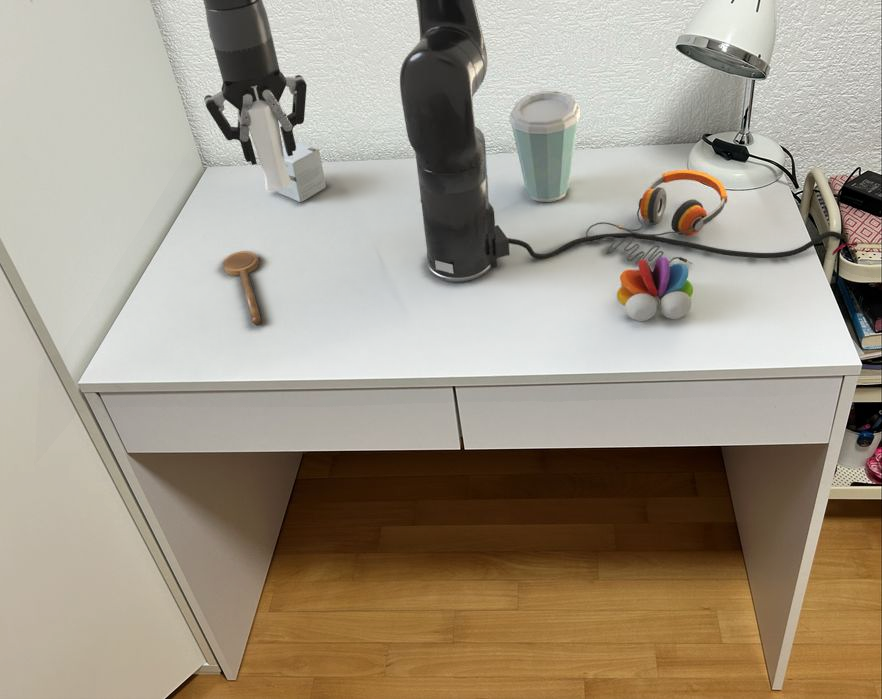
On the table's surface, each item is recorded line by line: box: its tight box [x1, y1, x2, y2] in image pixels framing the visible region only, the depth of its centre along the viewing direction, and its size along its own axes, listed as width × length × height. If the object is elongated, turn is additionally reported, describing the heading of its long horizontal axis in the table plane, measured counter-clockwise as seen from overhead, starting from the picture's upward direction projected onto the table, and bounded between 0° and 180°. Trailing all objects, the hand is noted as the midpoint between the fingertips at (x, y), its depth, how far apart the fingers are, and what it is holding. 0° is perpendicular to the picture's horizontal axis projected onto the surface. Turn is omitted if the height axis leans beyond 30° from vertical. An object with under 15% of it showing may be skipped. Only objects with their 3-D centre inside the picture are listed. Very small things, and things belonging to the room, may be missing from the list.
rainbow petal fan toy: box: [616, 256, 694, 322], centre depth 112 cm, size 8×10×7 cm
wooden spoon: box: [222, 250, 262, 325], centre depth 125 cm, size 18×5×1 cm, turn 18°
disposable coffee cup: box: [508, 90, 581, 203], centre depth 134 cm, size 11×11×15 cm
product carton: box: [276, 139, 327, 203], centre depth 143 cm, size 6×6×7 cm
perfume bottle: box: [246, 86, 292, 192], centre depth 119 cm, size 5×4×15 cm
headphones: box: [585, 169, 728, 267], centre depth 126 cm, size 17×5×20 cm
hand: (271, 157), depth 121 cm, fingers closed on perfume bottle, 4 cm apart
